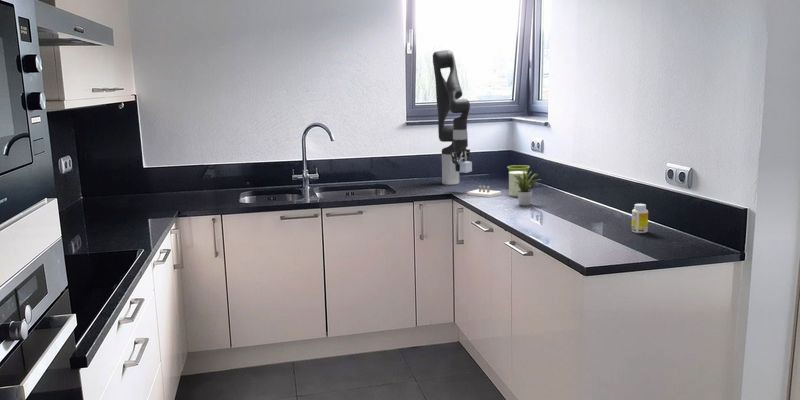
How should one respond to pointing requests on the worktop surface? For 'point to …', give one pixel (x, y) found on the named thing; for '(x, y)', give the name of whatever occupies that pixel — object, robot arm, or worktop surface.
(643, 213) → the supplement bottle
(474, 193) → the white peg board
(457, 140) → the robot arm
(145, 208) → the worktop surface
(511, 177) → the can
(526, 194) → the house plant
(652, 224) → the worktop surface
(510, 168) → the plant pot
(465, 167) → the plug housing
